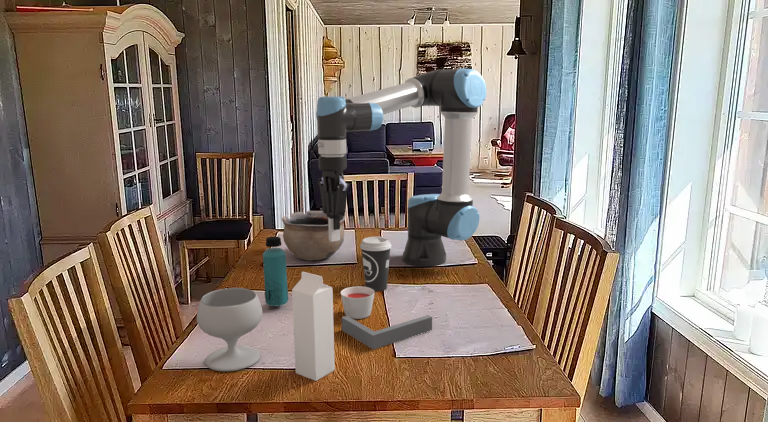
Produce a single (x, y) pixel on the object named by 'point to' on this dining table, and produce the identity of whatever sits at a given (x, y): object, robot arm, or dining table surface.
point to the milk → (313, 327)
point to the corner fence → (385, 331)
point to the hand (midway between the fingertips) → (334, 240)
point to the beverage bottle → (275, 273)
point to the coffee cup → (376, 262)
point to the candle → (357, 301)
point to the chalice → (230, 326)
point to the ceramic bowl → (310, 235)
